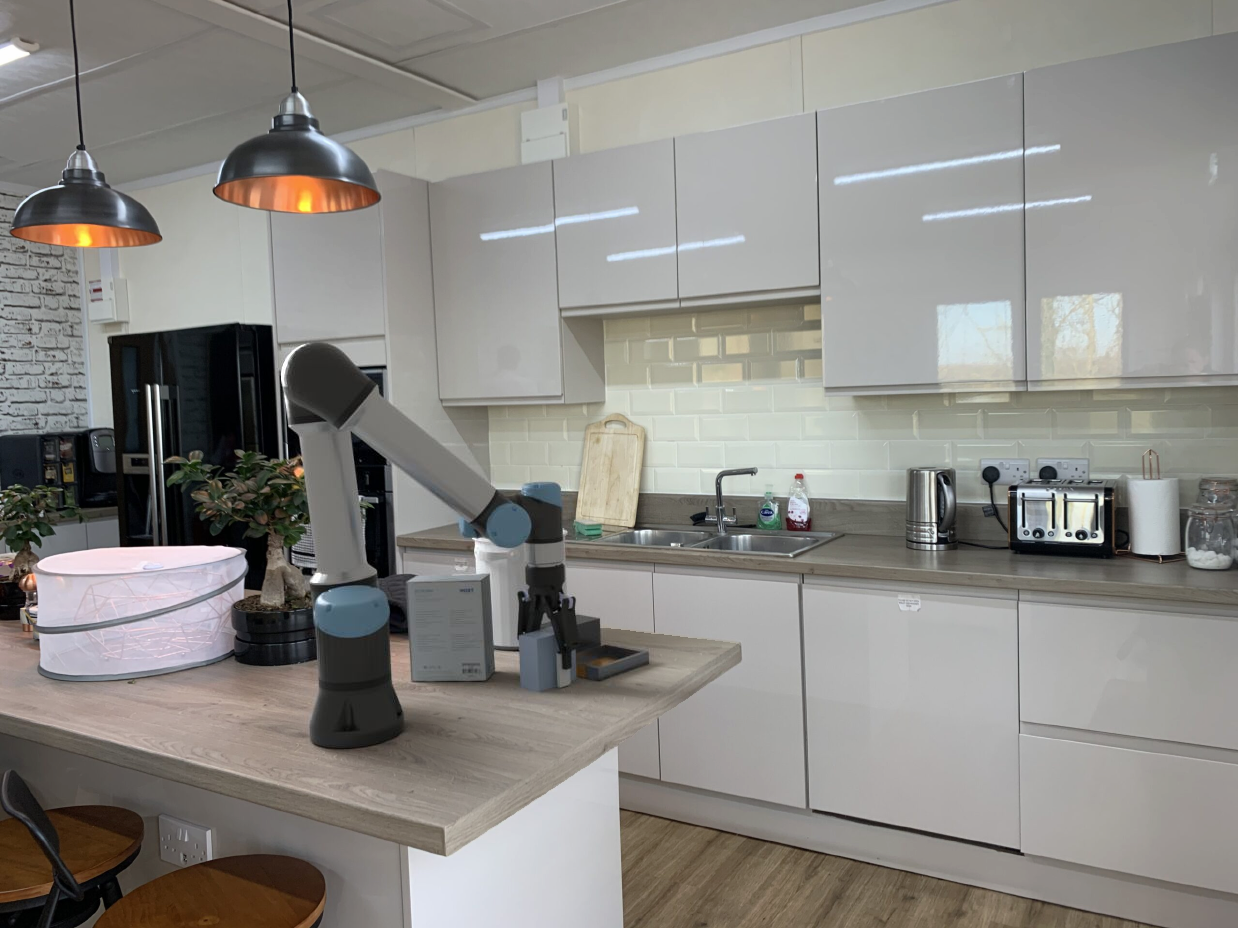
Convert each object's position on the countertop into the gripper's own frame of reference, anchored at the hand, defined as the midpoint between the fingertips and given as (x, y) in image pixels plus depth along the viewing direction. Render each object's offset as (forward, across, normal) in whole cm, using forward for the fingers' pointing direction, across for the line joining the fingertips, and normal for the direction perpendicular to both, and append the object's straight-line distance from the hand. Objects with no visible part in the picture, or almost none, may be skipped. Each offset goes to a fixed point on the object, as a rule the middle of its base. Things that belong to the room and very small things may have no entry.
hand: (549, 681), depth 179 cm
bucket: (+1, +29, -20) cm, 35 cm away
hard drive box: (+1, +19, +8) cm, 21 cm away
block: (0, 0, 0) cm, 0 cm away
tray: (0, +3, -14) cm, 14 cm away
